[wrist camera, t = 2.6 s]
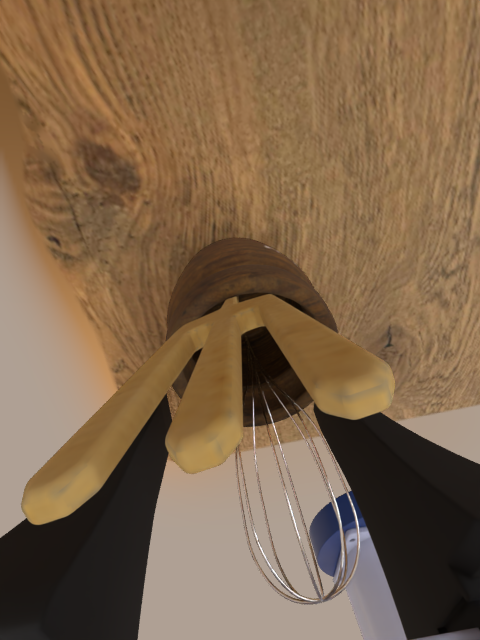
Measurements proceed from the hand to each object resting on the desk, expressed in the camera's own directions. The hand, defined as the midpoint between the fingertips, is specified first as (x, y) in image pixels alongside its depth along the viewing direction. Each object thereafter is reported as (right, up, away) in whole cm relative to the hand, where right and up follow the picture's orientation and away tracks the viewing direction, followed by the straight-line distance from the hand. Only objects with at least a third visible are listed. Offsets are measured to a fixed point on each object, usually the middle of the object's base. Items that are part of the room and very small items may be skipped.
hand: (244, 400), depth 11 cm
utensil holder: (-1, +6, +2) cm, 6 cm away
